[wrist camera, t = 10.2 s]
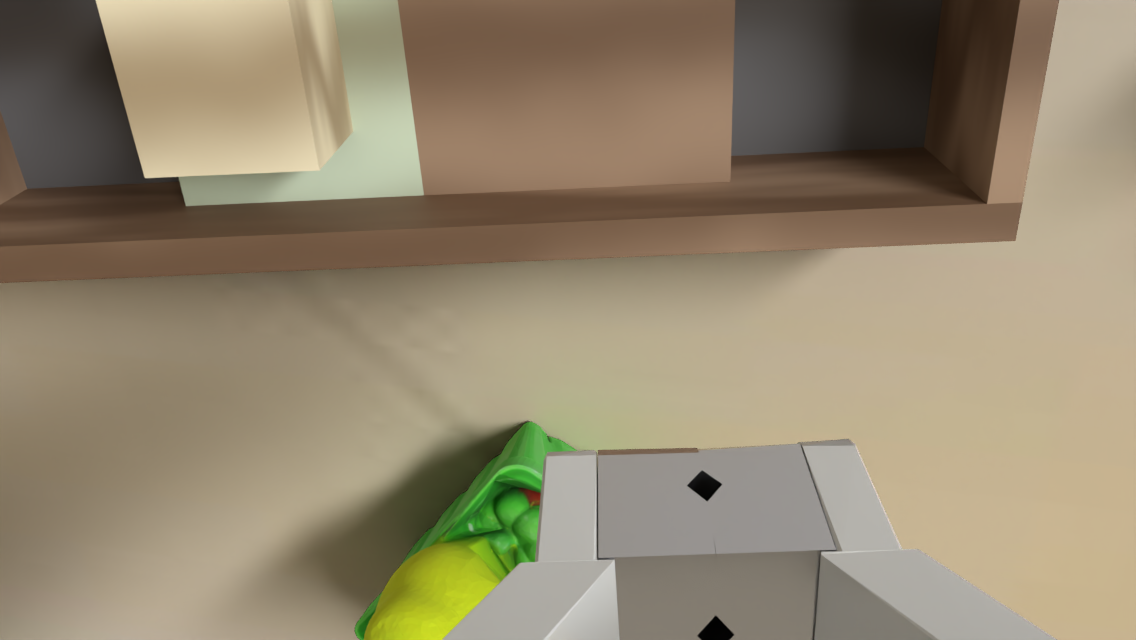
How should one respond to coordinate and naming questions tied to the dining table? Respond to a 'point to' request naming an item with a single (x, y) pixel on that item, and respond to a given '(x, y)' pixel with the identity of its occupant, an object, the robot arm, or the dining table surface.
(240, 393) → the dining table surface
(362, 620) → the fruit basket
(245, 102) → the maple block
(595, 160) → the trap lane
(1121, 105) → the dining table surface
